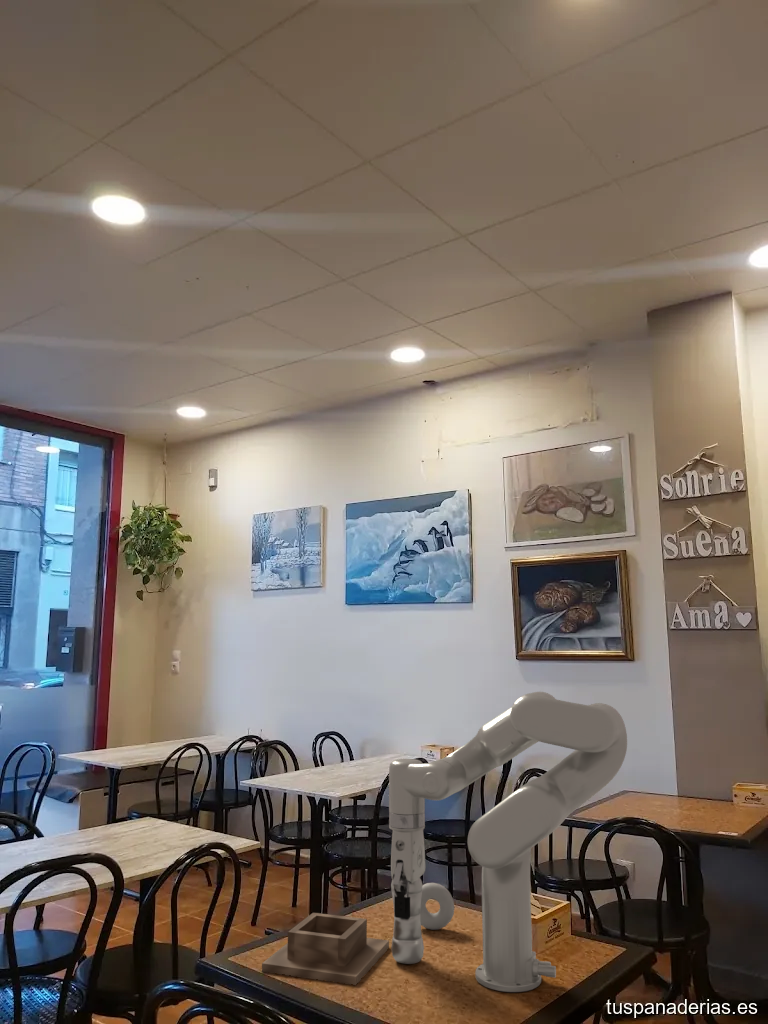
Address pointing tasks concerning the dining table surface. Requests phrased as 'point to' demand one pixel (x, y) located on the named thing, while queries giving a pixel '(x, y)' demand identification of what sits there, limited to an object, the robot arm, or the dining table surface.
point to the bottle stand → (327, 950)
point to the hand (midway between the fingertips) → (407, 911)
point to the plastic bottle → (409, 928)
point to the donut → (446, 906)
